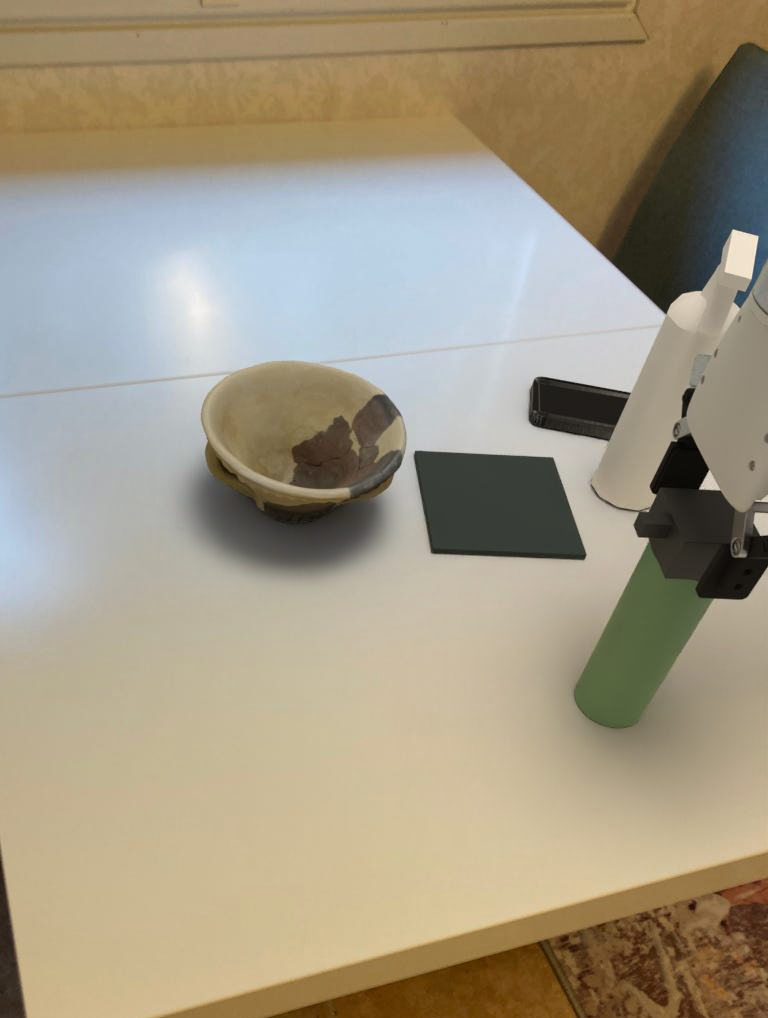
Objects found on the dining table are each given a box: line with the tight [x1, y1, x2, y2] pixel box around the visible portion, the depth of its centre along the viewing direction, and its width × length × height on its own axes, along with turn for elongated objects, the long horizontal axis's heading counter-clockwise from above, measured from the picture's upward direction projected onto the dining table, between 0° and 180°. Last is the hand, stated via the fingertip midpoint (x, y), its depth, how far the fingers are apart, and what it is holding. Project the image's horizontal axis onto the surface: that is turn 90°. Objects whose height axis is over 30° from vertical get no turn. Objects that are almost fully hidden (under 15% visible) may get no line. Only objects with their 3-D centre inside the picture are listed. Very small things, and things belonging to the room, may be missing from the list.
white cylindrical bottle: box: [590, 229, 759, 512], centre depth 82 cm, size 7×12×25 cm, turn 157°
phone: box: [528, 375, 631, 440], centre depth 98 cm, size 8×1×15 cm
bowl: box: [200, 360, 408, 524], centre depth 82 cm, size 18×18×10 cm
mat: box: [413, 450, 587, 560], centre depth 87 cm, size 14×14×1 cm
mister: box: [573, 488, 761, 729], centre depth 66 cm, size 7×5×19 cm
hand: (694, 541), depth 60 cm, fingers open, 9 cm apart
